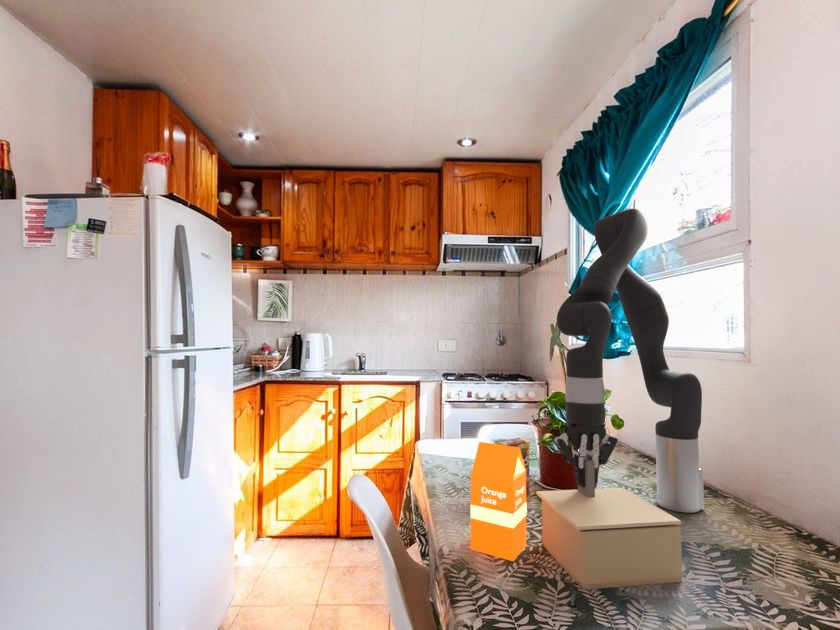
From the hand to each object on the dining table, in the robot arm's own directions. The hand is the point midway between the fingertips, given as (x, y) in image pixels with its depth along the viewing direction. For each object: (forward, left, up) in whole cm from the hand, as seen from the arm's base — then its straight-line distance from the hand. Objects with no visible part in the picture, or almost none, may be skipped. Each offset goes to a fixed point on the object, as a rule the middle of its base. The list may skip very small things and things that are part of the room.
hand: (585, 485), depth 89 cm
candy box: (+7, -24, -12) cm, 28 cm away
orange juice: (+18, -1, -12) cm, 21 cm away
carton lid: (0, +6, -2) cm, 6 cm away
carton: (0, +7, -12) cm, 13 cm away
